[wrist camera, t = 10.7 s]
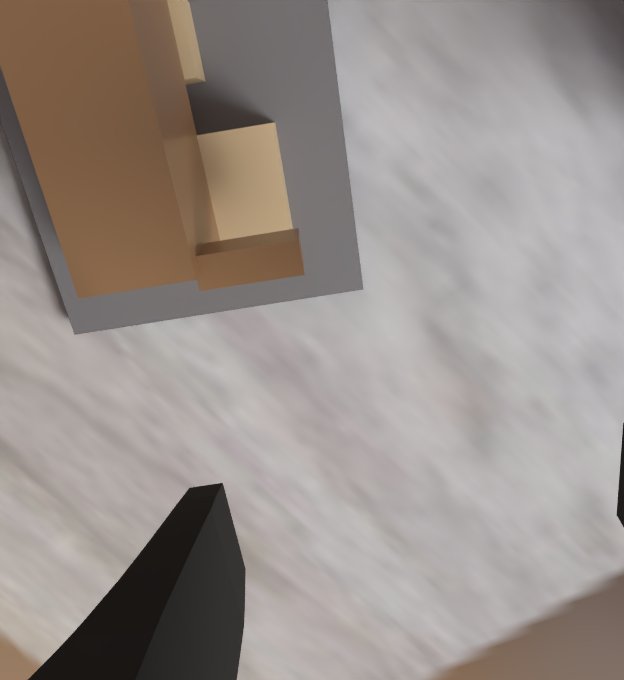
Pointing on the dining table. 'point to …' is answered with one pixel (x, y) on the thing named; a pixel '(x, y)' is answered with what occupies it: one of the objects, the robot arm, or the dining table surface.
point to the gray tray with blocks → (240, 157)
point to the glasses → (123, 149)
